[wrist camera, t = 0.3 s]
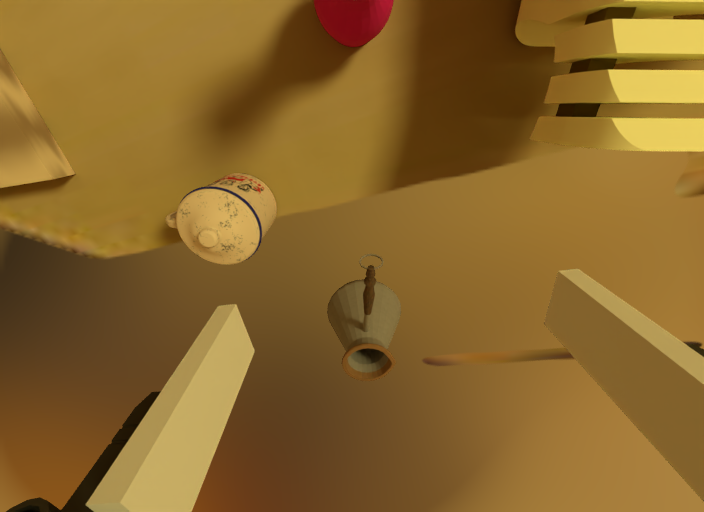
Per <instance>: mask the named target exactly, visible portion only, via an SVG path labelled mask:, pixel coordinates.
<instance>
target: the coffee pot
mask: <svg viewBox="0 0 704 512" xmlns="http://www.w3.org/2000/svg"><path fill="white" fill-rule="evenodd" d="M366 256H376V257H378V258H380V259H381V261H382V264H383V259H382V258H381V257H380V256H378V255H375V254H367V255H364V256H362V257H361V258H360V261H359V263H360V265H361V267H363V268H365V269H367V272H366V276H367V277H366V278H365V279H364V280H356V281H353V282H350V283H347V284H345V285H344V286H342V287H341V288H339V289H338V290H337V291H336V292H335V294H334V295H333V296H332V298H331V300H330V302H329V304H328V311H327V313H328V318H329V321H330V323H331V325H332V327H333V329H334V330H335V332H336V334H337V336H338V338H339V339H340V341H341V343H342V345H343V347H344V348H345V350H346V353H345V355H344V357H343V359H342V366H343V369H344V371H345V372H346V373H347V374H348V375H349V376H350V377H352V378H354V379H357V380H361V381H372V380H377V379H380V378H382V377H384V376H385V375H387V374H388V373H389V372H390V371H391V370H392V368H393V367H394V365H395V364H396V361H395V360H394V357H393V356H392V354H391V353H390V352H389V351H388V350H387V349H388V347H389V344H390V342H391V339H392V336H393V334H394V331H395V329H396V326H397V324H398V321H399V318H400V314H401V307H400V302H399V300H398V298H397V296H396V295H395V293H394V292H393V291H392V290H391V289H390V288H388V287H387V286H385V285H384V284H382V283H380V282H377V281H376V279H375V278H374V276H375V269H378V268H380V267H381V266H382V264H381V265H380V266H378V267H375V268H374V266H372V265H370V266H368V267H365V266H363V265H362V264H361V259H362V258H364V257H366Z"/></svg>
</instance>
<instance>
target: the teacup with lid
mask: <svg viewBox="0 0 704 512" xmlns="http://www.w3.org/2000/svg"><path fill="white" fill-rule="evenodd" d="M276 211H277V207H276V201H275V198H274V196H273V194H272V192H271V191H270V189H269V188H268V187H267V186H266V185H265V184H264V183H263V182H262V181H261V180H259V179H258V178H256V177H254V176H251V175H248V174H243V173H234V174H230V175H227V176H225V177H223V178H221V179H219V180H217V181H215V182H213V183H212V184H210V185H208V186H206V187H201V188H198V189H195V190H193V191H191V192H190V193H188V194H187V195H186V196H185V197H184V198H183V199H182V201H181V202H180V204H179V207H178V209H177V211H175V212H173V213H171V214H169V215H168V216H167V217H166V223H167V225H168V226H169V227H171V228H176V229H178V232H179V235H180V237H181V239H182V240H183V242H184V243H185V244H186V246H187V247H188V248H189V249H190V250H191V251H192V252H193V253H195V254H196V255H197V256H199V257H201V258H202V259H204V260H207V261H209V262H212V263H216V264H223V265H229V264H236V263H240V262H242V261H245V260H247V259H248V258H250V257H251V256H252V255H253V254H254V253H255V252H256V251H257V249H258V247H259V246H260V243H261V239H262V238H263V237H264V235H265V234H266V232H267V230H268V229H269V228H270V226H271V225H272V223H273V222H274V220H275V217H276Z"/></svg>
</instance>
